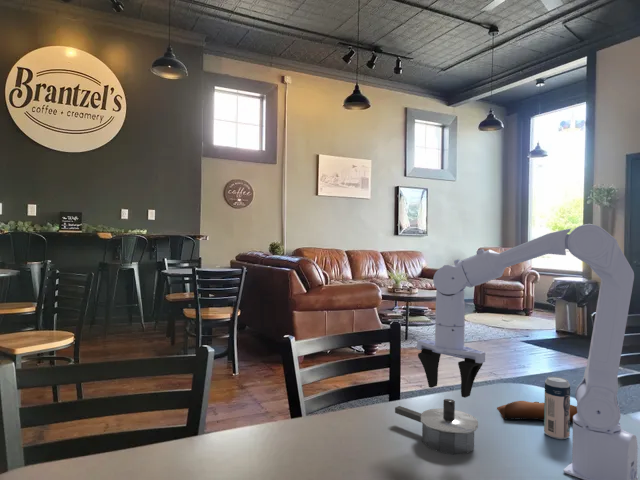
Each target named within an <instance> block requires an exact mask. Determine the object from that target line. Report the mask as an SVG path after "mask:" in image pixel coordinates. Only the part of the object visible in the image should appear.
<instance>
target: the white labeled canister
mask: <svg viewBox="0 0 640 480" xmlns="http://www.w3.org/2000/svg"><path fill="white" fill-rule="evenodd" d="M543 403H544V420H543V423H544V424H543V425H544V426H543V431H544V434H546V435H547V436H548V437H550V438H551V439H552V438H553V439H556V440H566V439H569V437H571V436H570V432H571V431H570V429H571V428H570V427H571V426H570V425H571V424H570V423H571V422H570V405H571V384H570V382H569V380H568V379H566V378H564V377H560V376H548V377H547V378H546V379H545V381H544V402H543Z"/></svg>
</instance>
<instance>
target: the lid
mask: <svg viewBox="0 0 640 480" xmlns="http://www.w3.org/2000/svg"><path fill="white" fill-rule="evenodd" d="M455 402H456V401H455V400H454V399H450V398H445V399H443V406H442V407H443V408H431V409H430V408H429V409H427V410H425V411H423V412H421V422H422V423H421V422H420V423H421V424H423V425H425V426H426V427H428V428H430V429H432V430H435V431H438V432H442V433H448V434H468V433H472V432H474V433H475V432H476V431H477V430H478V428H479V421H478V419H477V418H476V417H475V416H473V415H471V414H470V413H467V412H464V411H462V410H457V409H456V407H455V406H456V403H455Z"/></svg>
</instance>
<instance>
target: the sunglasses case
mask: <svg viewBox="0 0 640 480" xmlns="http://www.w3.org/2000/svg"><path fill="white" fill-rule="evenodd" d="M544 403H545V402H540V401H526V400H517V401H512V402H509V403H507V404H502V405H500V406H497V407H496V410H497V411H498V412H499V414H500V415H501V417H502V419H503V421H504V420H525V419H526V420H542V421H544ZM575 414H577V405H573V404H570V423H571V422H572V423H573V416H574V415H575Z"/></svg>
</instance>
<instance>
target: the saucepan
mask: <svg viewBox="0 0 640 480" xmlns="http://www.w3.org/2000/svg"><path fill="white" fill-rule="evenodd" d="M394 413H395V414H397V415H400V416H402V417H405V418H408V419H410V420H413V421H416V422H419V423H421V424H422V422H421V414H422V412H418V411H416V410H413V409H409V408H407V407H405V406H401V405H398V406H395V407H394ZM421 431H422V432H421V433H422V434H421V442H422V443H423V445H425V446H426V447H427V448H428V449H431V450H433V451H436V452H439V453H442V454H447V455H463V454H468V453H470V452H471V451H474V450H475V431H474V432H472V433H468V434H448V433H442V432H438V431H435V430H432V429H430V428H428V427H426V426H425V425H423V424H422V428H421Z"/></svg>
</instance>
